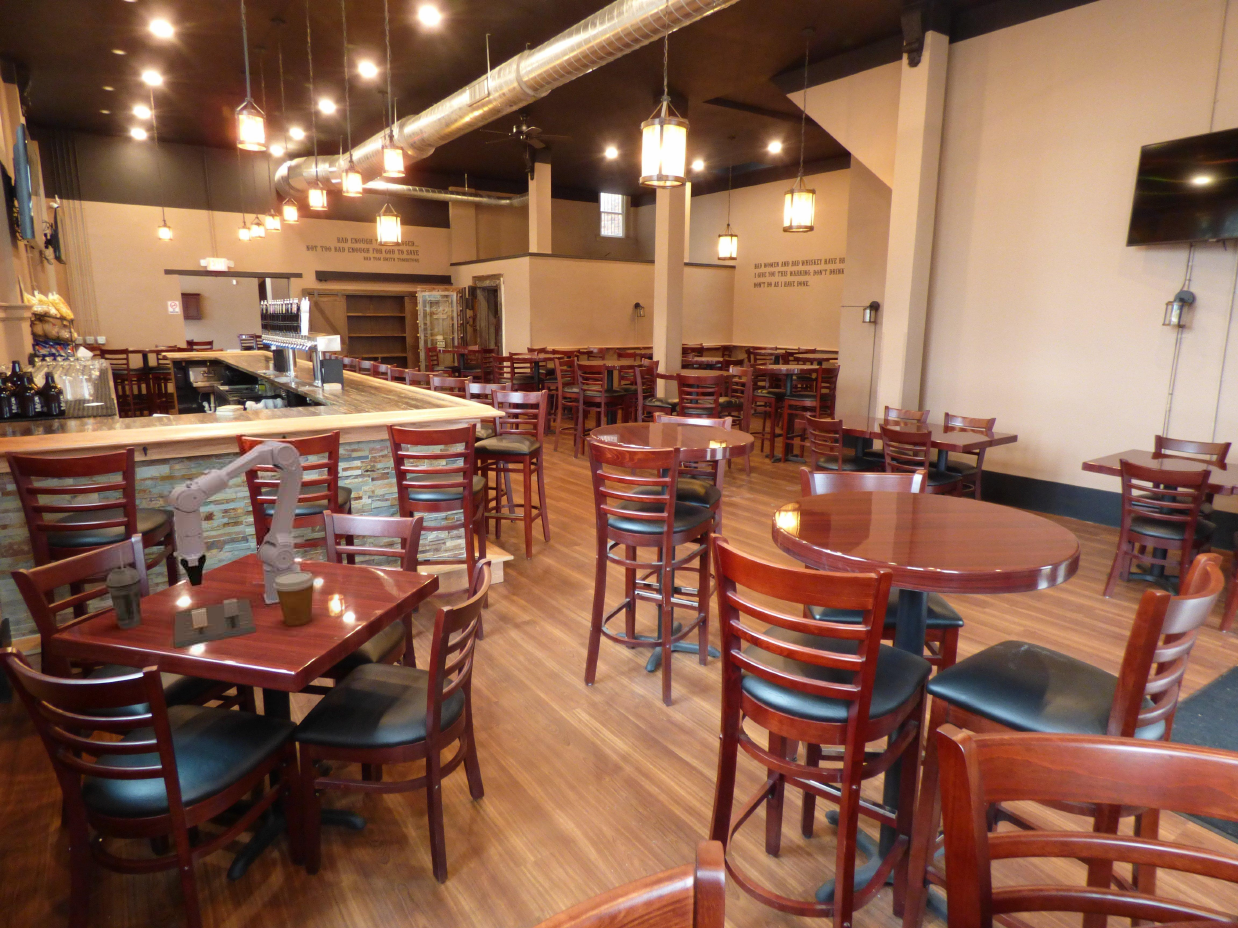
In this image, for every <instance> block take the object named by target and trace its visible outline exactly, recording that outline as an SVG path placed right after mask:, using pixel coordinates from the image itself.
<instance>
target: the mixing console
mask: <svg viewBox="0 0 1238 928" xmlns="http://www.w3.org/2000/svg"><path fill="white" fill-rule="evenodd" d="M237 606H238V614H239V615H236V616H231V617H226V618H225V611H224V603H217V604H212V605H205V606H201V607H194V608H190V609H182V610H178V611H175V612H174V613H175V615H174V649H179V648H182V647H183V646H184V647H188V646H193V645H198V644H203V643H206V642H213V641H217V640H223V639H227V638H232V637H237V636H242V635H247V634H253V633H256V626H255V622H254V617H253V613H252V612H253V611H252V608H251V605H250V601H249V598H243V599H239V600H237ZM203 608H206V615H207V623H208V625H206V626H201V627H196V628H194V626H193V619H192V610H198V609H203ZM178 647H179V648H178Z"/></svg>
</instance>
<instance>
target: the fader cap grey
mask: <svg viewBox="0 0 1238 928" xmlns="http://www.w3.org/2000/svg"><path fill="white" fill-rule="evenodd" d="M237 601H238V599H237V598H232V599H226V600H223V601H222V602H223V603H224V611H225V618H226V617H231V616H236V615H239V614H238V606H237Z"/></svg>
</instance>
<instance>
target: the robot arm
mask: <svg viewBox="0 0 1238 928" xmlns="http://www.w3.org/2000/svg"><path fill="white" fill-rule="evenodd" d="M257 466H272V467H273V468H274V469H275V471H276V472H277V473H278V474H279V475H280V481H279V485H278V490H277V491H278V492H277V495H276V498H275V499H276V500H275V504H274V510H273V514H272V520H271V524H270V529H269V532H268V533H267V534H266V535H265V536H264V537H263V542H262V543H261V544H260V546H259V547H258V549H257V557H258V560H260V562H263V564H262V570H263V580H264V590H265V593H263V599H264V601H265V604H266V605H271V604H275V603H280V602H279V598H278V594H277V590H276V589H275V587H274V583H275V579H276V578H277V577H278V576H280V575H283V574H286V573H290V572H298V571H301V566H300V564H299V563H296V564H295V563H294V561H295V560H296V555H295V554H296V553H295V551H294V548H295V542H294V539H293V536H292V531H293V526H294V520H295V516H296V511H297V506H298V501H299V496H300V491H301V487H302V481H303V478H304V470H303V466H302V463H301V459H300V452H299V451H298V450H297V448H295V447H294V445H292V444H291V443H288V442H281V441H276V440H274V439H268V440H266V441H263V443H260V444H257V445H256V446H255V447H253V448H252V449H251V450H250V451H248V452H246V453H245V454H243V455H242V456H240V457H239V458H237V459H235V460H234V461H232V462H230V464H228V465H226V466H225V467H224V468H222V469H216V468H213V469H210V470H209V469H206V470H204V471H202V473H203V474H202V475H200V476H198V477H197V478H195V479H194V480H192V481H190V480H188V481H186V482H185V486H184V485H183V486H177V487H175V488H173V489H172V490H171V493H169V496H168V497H169V498H167V502H168V504H169V506H171V507H172V508H173V516H174V517H173V519H174V526H175V534H176V540H177V541H176V542H177V548H178V551H174V552H173V557H180V561H179V564H180V566H181V567H182V568H183V570H184V571H185V572H186V575H187V578H188V580H189V583H190V585H191V587H197V586H201V585H202V584H203V571H204V566H205V565H206V564H205V563H207V556H206V553H207V548H206V545H205V544H206V543H205V537H204V531H203V522H202V516H201V507H202V506H203V503H204V502H205V501H207V500H209V499H210V498H212V497H214V496H216V495H217V494H219V493H221V492H222V491H224V490H225V489H227V488H228V487H229V482H230V481H231V480H233V479H235V478H237V477H238V476H240V475H242V474H244V473H246V472H247V471H250V470H251V469H253V468H255V467H257Z"/></svg>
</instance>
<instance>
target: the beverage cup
mask: <svg viewBox="0 0 1238 928" xmlns="http://www.w3.org/2000/svg"><path fill="white" fill-rule="evenodd" d="M122 555H123V554H122V549H121V548H119V549H118V557H119V564H120V566H118V567H116V568H113V570H111V571H110V572H109V574H108V576H107V577H106V585H105V587H107V591H108V593H109V595H110V598H111V601H112V605H113V606H112V607H113V609H114V613H115V617H116V621H117V624H118V626H119V629H121V630H127V629H132V628H135V627H136V628H137V627H138V626H140V625H141V621H142V620H141V617H142V612H141V590H140V588H141V581H142V579H141V577H140V574H139V572H138V571H137V570H136V569H135V568H133V567H130V566H127V565H125V566H124V562H123V561H124V560H123V556H122Z"/></svg>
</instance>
